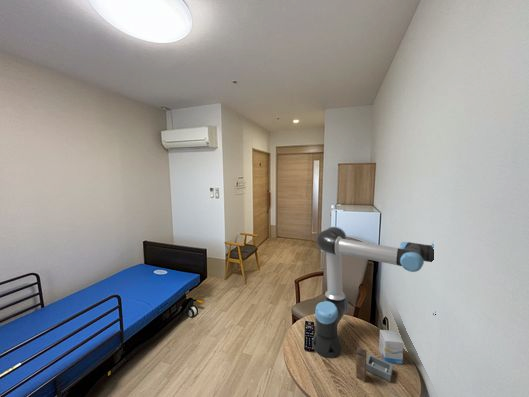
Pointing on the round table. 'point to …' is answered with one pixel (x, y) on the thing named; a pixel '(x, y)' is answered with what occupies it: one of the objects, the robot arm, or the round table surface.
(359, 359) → the wooden beam
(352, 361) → the round table surface
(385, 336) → the ink box
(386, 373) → the grey tray with pegs
